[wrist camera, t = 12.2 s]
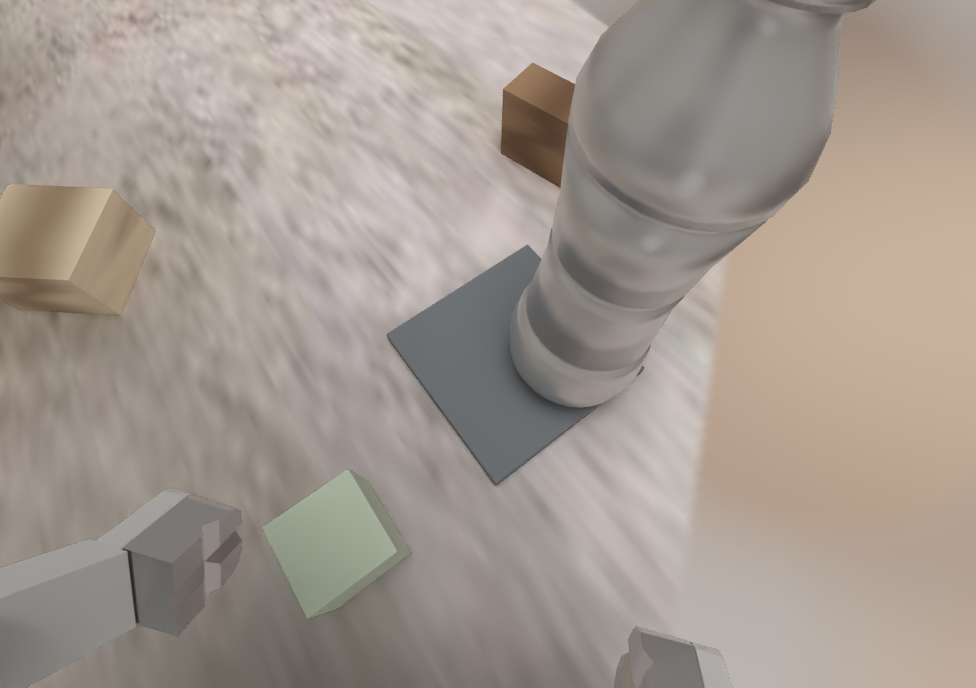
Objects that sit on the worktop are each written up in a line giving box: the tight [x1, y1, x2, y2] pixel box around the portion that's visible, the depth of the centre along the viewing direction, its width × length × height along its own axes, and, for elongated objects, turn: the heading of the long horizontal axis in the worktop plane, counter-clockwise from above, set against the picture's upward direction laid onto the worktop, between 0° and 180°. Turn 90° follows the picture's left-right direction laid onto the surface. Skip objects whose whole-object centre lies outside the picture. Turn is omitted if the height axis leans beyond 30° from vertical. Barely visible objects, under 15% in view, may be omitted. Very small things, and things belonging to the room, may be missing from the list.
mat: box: [387, 245, 644, 485], centre depth 26 cm, size 10×10×1 cm
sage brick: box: [262, 469, 412, 619], centre depth 21 cm, size 4×4×4 cm
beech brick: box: [0, 184, 156, 315], centre depth 27 cm, size 6×6×4 cm
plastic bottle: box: [509, 0, 876, 408], centre depth 17 cm, size 6×7×20 cm
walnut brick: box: [501, 63, 575, 188], centre depth 31 cm, size 6×3×5 cm, turn 52°
